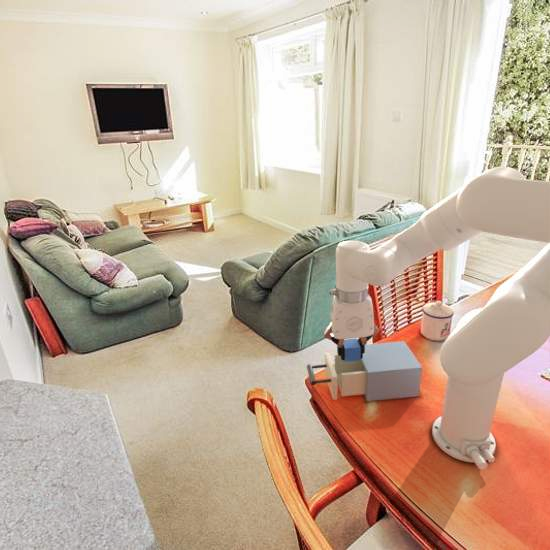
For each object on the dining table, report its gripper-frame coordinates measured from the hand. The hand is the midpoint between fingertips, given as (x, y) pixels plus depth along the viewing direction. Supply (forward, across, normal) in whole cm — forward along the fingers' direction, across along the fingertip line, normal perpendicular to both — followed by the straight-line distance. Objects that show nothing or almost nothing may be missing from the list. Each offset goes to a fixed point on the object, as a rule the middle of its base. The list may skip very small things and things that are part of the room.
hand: (350, 355), depth 96 cm
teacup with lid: (+11, +34, +22) cm, 42 cm away
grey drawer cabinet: (+10, +10, 0) cm, 14 cm away
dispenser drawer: (+9, -2, 0) cm, 10 cm away
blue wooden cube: (0, 0, 0) cm, 0 cm away
